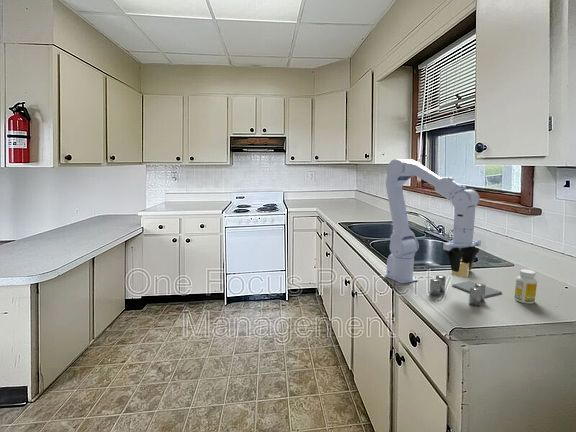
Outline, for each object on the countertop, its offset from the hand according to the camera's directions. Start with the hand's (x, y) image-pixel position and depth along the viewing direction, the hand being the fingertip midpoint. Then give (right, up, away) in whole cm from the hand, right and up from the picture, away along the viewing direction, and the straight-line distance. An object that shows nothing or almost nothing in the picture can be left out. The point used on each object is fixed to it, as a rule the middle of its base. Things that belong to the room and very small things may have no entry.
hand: (460, 269), depth 113 cm
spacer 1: (-7, -9, +3) cm, 11 cm away
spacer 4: (+5, -9, -2) cm, 11 cm away
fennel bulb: (+16, -5, +29) cm, 33 cm away
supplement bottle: (+19, -10, -2) cm, 21 cm away
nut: (0, -2, 0) cm, 2 cm away
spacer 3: (+2, -10, -5) cm, 11 cm away
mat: (+9, -8, +7) cm, 14 cm away
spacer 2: (-4, -8, +6) cm, 11 cm away
